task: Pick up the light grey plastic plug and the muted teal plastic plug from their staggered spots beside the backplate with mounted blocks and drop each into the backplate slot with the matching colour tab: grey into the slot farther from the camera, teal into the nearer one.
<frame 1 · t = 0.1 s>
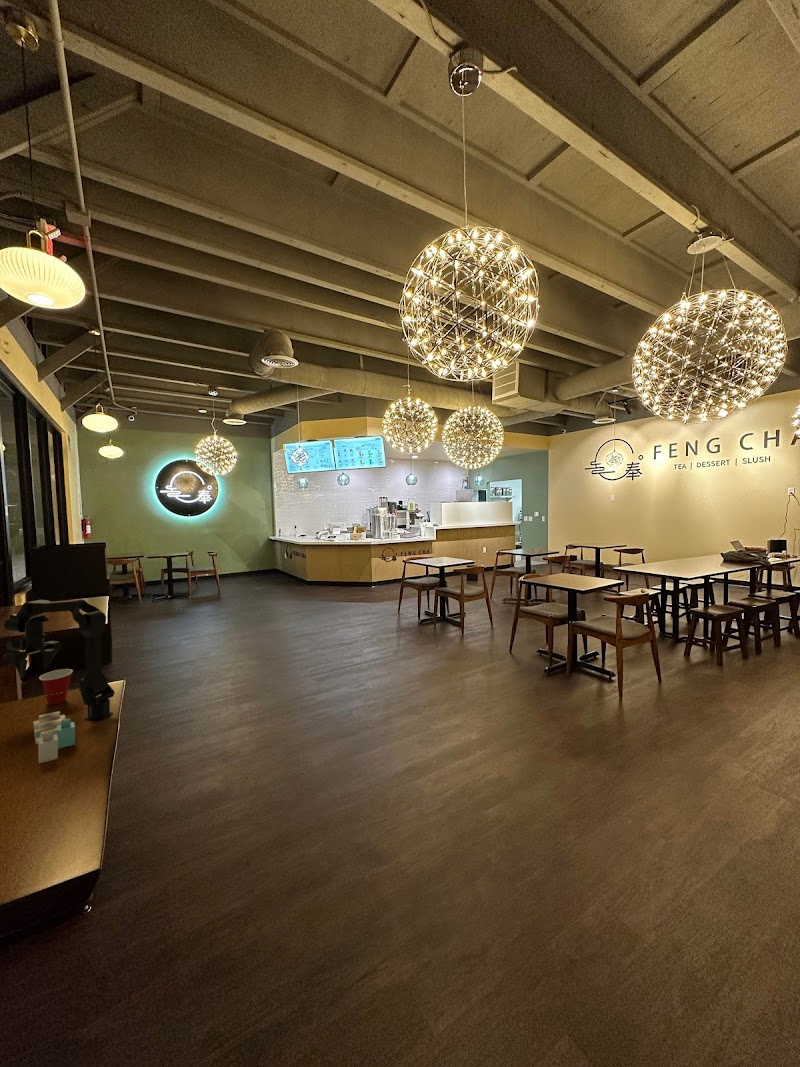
hand: (34, 673, 168), 15 cm above the table, tool pointing down, fingers open, 9 cm apart
teal plug: (65, 743, 145), on the table
grey plug: (47, 757, 136), on the table
backplate with mounted blocks: (51, 729, 154), on the table
plastic cup: (55, 702, 176), on the table
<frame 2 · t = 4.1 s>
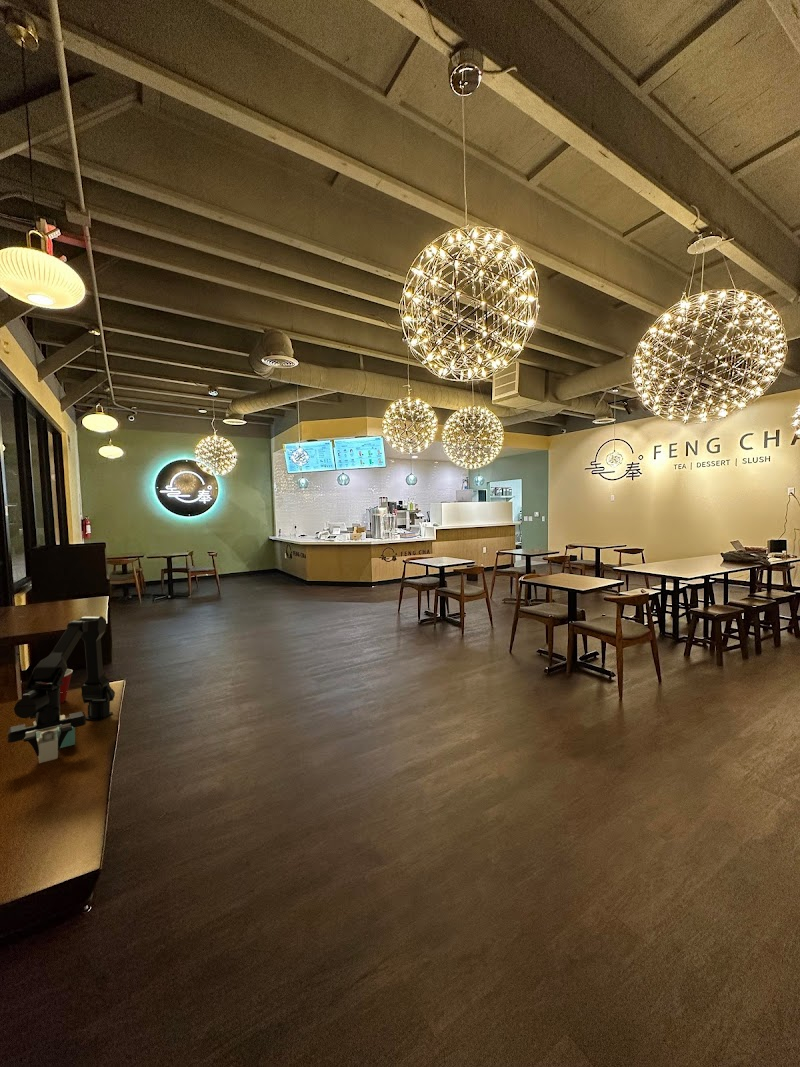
hand: (48, 752, 136), 2 cm above the table, tool pointing down, fingers closed on grey plug, 4 cm apart
grey plug: (47, 757, 136), on the table, touching gripper
everything else where it was.
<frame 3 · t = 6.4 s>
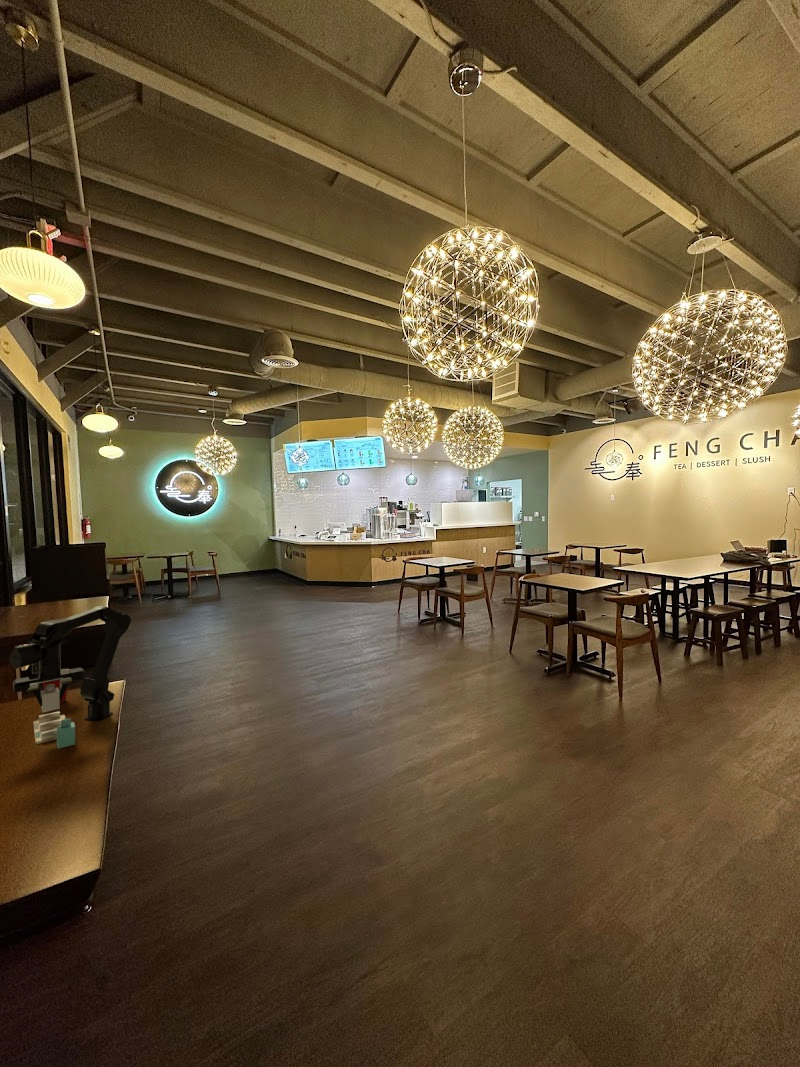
hand: (50, 704, 148), 12 cm above the table, tool pointing down, fingers closed on grey plug, 4 cm apart
grey plug: (50, 708, 148), point 10 cm above the table, touching gripper
everything else where it was.
when the fingers open (3 cm above the table, at t = 9.1 s): grey plug stays where it is, resting on backplate with mounted blocks.
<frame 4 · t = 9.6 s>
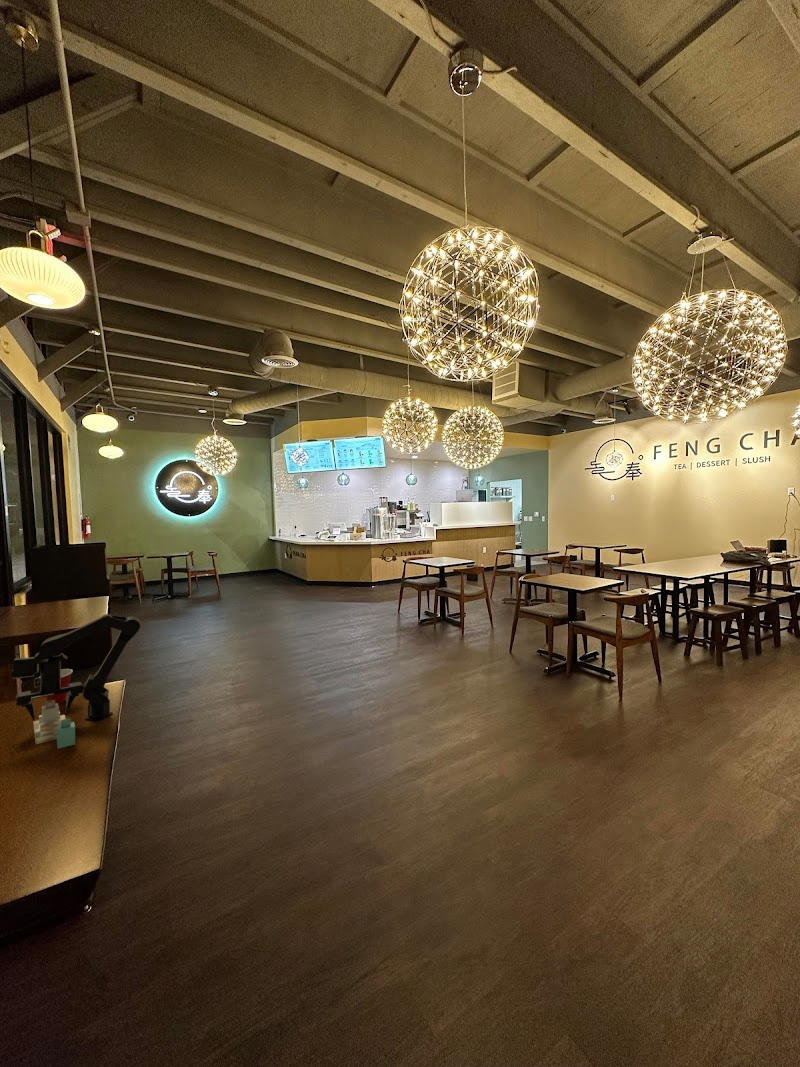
hand: (50, 716, 157), 3 cm above the table, tool pointing down, fingers open, 9 cm apart
grey plug: (50, 723, 157), point 1 cm above the table, touching backplate with mounted blocks
everything else where it was.
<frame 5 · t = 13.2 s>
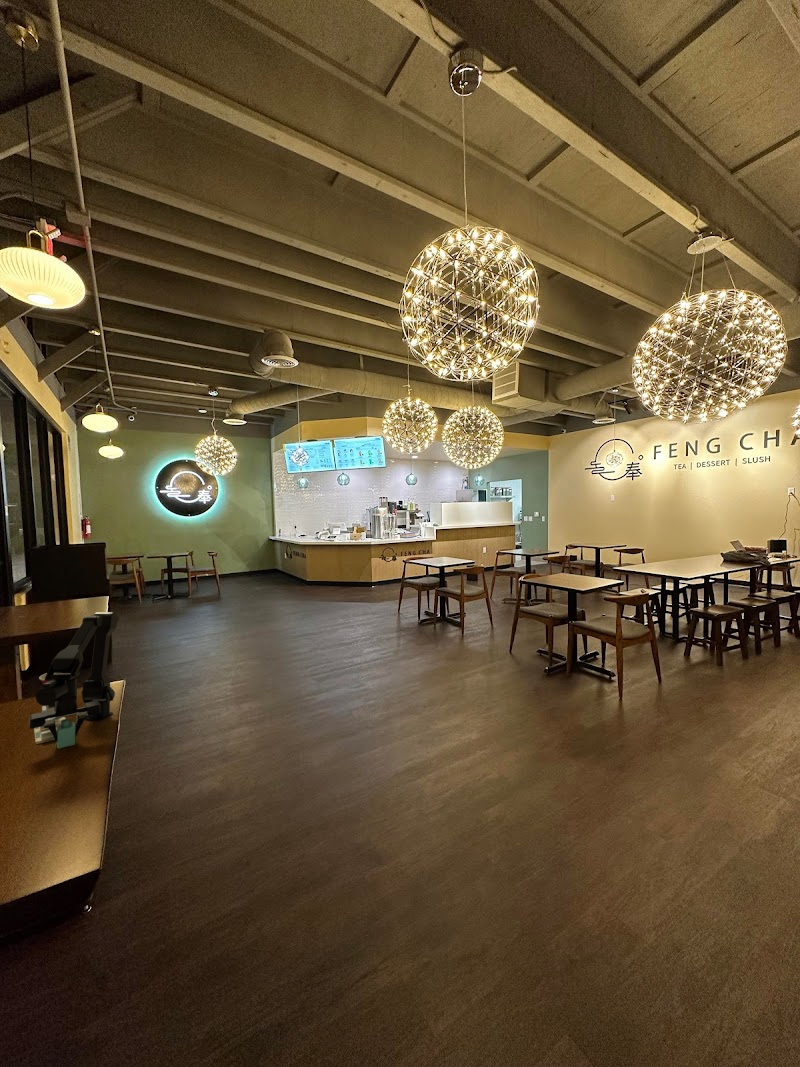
hand: (65, 739, 145), 2 cm above the table, tool pointing down, fingers closed on teal plug, 4 cm apart
teal plug: (65, 743, 145), on the table, touching gripper
everything else where it was.
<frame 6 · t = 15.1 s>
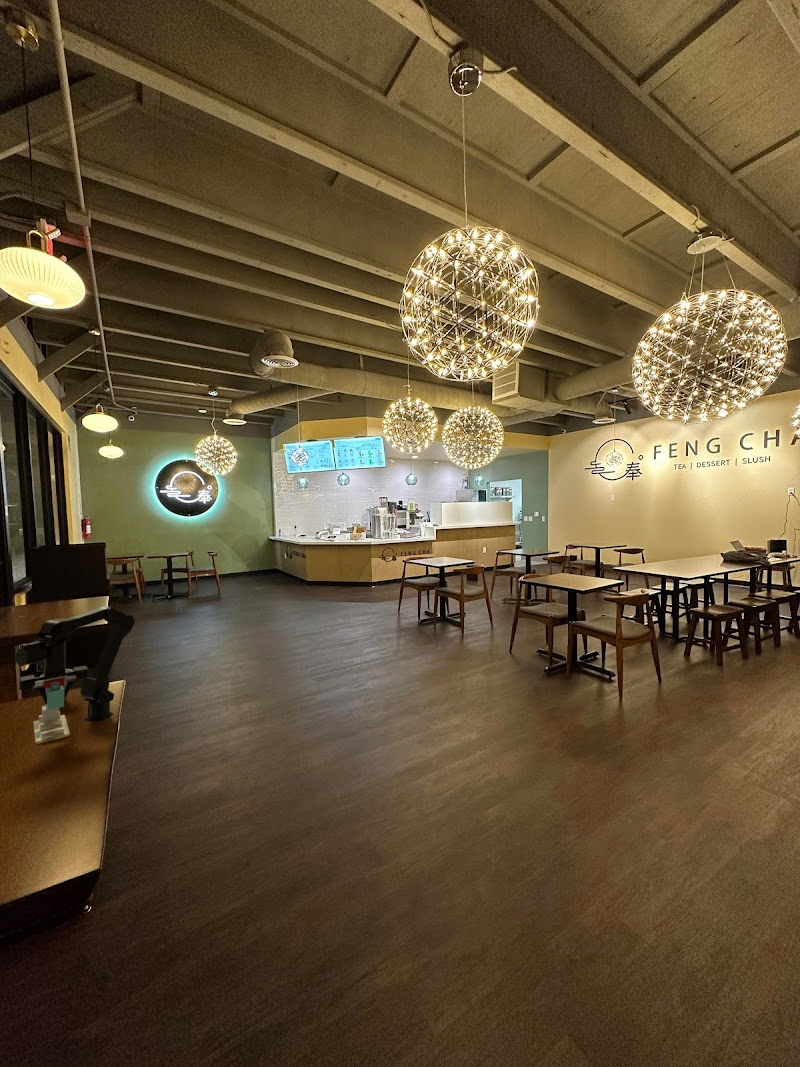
hand: (54, 701, 149), 12 cm above the table, tool pointing down, fingers closed on teal plug, 4 cm apart
teal plug: (55, 706, 149), point 10 cm above the table, touching gripper
everything else where it was.
when the fingers open (3 cm above the table, at t = 17.3 s): teal plug stays where it is, resting on backplate with mounted blocks.
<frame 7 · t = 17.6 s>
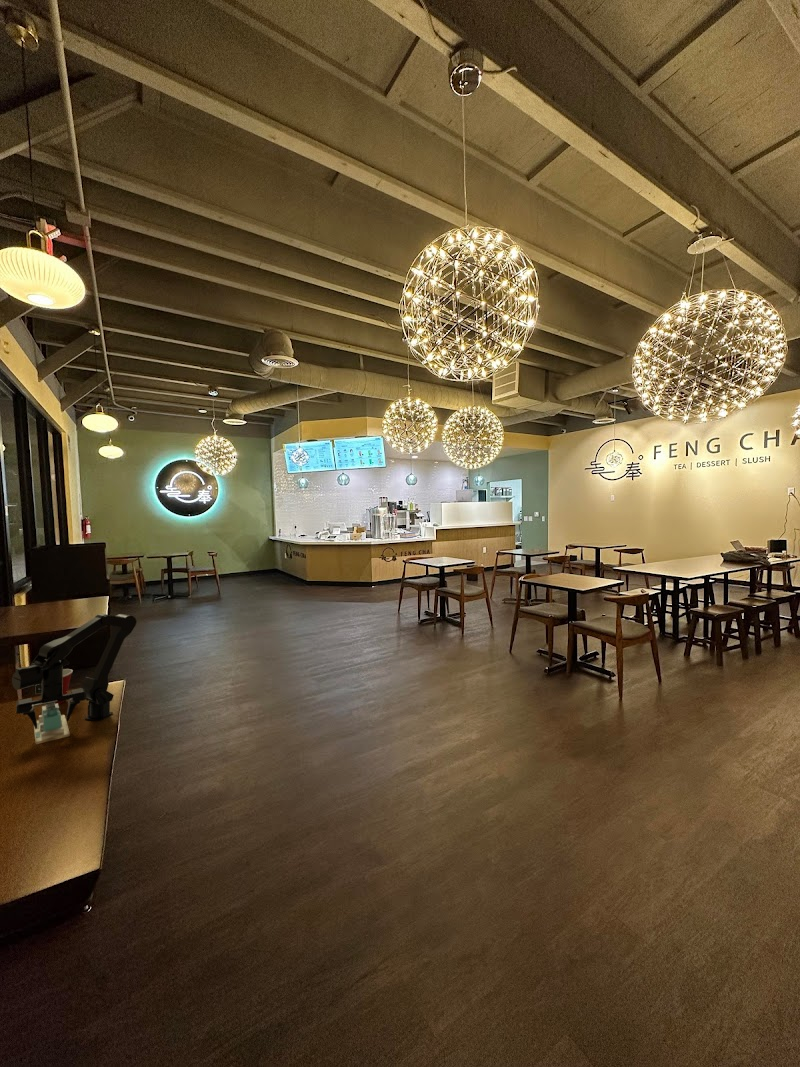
hand: (52, 724, 151), 3 cm above the table, tool pointing down, fingers open, 8 cm apart
teal plug: (52, 731, 151), point 1 cm above the table, touching backplate with mounted blocks
everything else where it was.
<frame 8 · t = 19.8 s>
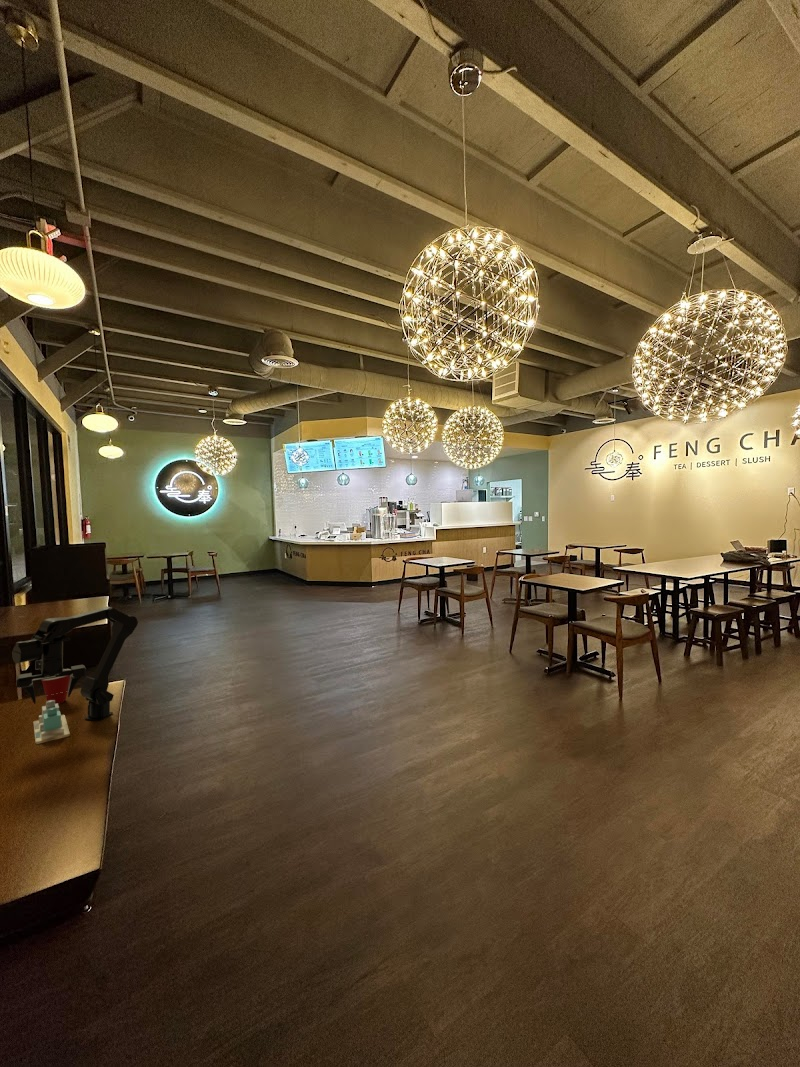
hand: (52, 699, 150), 12 cm above the table, tool pointing down, fingers open, 9 cm apart
nothing on the table moved.
at the end: grey plug 0.0 cm from the target spot on the backplate with mounted blocks, point 0.8 cm above the backplate with mounted blocks's base; teal plug 0.1 cm from the target spot on the backplate with mounted blocks, point 0.8 cm above the backplate with mounted blocks's base; teal plug tilted 0° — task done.
